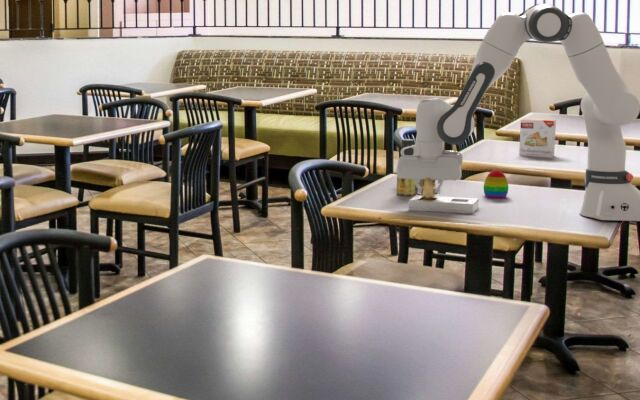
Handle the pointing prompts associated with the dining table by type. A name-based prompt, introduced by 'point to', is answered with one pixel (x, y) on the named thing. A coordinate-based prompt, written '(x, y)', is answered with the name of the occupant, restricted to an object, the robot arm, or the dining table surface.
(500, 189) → the decorative egg
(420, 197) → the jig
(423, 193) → the brass cylinder
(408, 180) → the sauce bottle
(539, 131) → the cracker box
